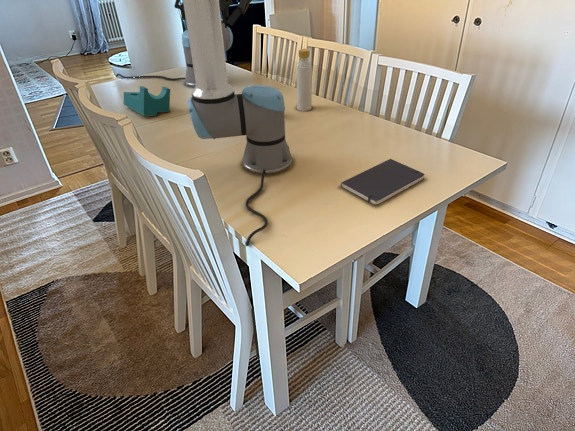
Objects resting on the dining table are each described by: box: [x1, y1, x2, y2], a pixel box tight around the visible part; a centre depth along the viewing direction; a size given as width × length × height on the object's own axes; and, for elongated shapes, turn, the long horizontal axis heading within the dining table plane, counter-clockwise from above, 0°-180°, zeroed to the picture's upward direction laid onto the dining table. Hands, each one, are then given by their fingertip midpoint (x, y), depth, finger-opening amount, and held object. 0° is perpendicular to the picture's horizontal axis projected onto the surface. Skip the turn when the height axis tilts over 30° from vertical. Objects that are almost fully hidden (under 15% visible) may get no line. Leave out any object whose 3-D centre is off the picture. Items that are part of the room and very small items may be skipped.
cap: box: [298, 48, 310, 59], centre depth 151 cm, size 4×4×2 cm
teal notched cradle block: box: [123, 85, 171, 117], centre depth 163 cm, size 18×11×10 cm, turn 43°
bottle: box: [295, 57, 313, 112], centre depth 157 cm, size 6×6×22 cm
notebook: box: [340, 158, 425, 206], centre depth 114 cm, size 13×2×21 cm
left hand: (224, 16), depth 159 cm, fingers open, 13 cm apart
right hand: (207, 28), depth 146 cm, fingers open, 13 cm apart
